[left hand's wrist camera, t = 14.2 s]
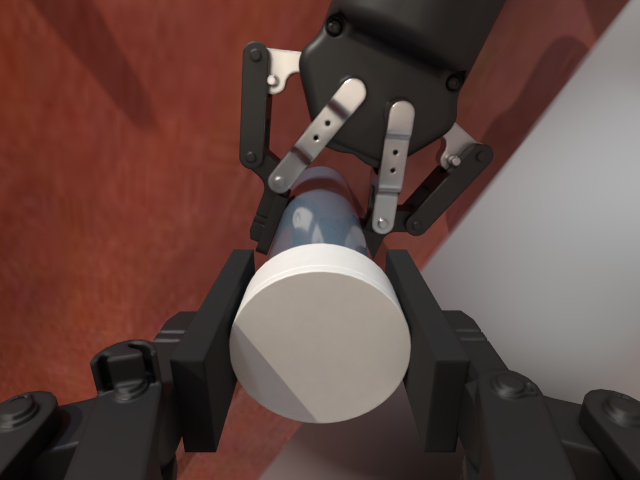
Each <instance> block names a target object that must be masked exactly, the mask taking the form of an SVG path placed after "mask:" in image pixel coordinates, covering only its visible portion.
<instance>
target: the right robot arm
mask: <svg viewBox="0 0 640 480" xmlns="http://www.w3.org/2000/svg"><path fill="white" fill-rule="evenodd" d="M505 1H506V0H332V1H331V4H330V7H329V9H328V12H327V15H326V17H325V20H324V23H323V25H322V28H321V30H320V31H319V33H318V34H317V35H316V37H315V38H314V39H313V40H312V41H311V42H310V43H308V44H307V45H306V46H305V48H304V49H303V50H302V52H296V51H287V50H279V49H271V48H267V47H266V46H265V45H264V44H262V43H261V42H258V41H252V42H250V43H248V44H247V45H246V46H245V48H244V51H243V69H242V97H241V125H240V153H239V158H240V162H241V163H242V165H243V166H244V167H246V168H248V169H251V170H252V171H254V172H255V173H256V174H257V175H258V176H259V177H260V178H261V179H262V180H263V182H264V187H265V189H264V193H263V196H262V199H261V201H260V204H259V207H258V210H257V212H256V215H255V218H254V221H253V223H252V226H251V229H250V239H252V240H255V241H257V242H259V243H258V245H257V248H256V252H259V253H262V254H264V255H267V253H268V251H269V248H270V246H271V243H272V240H273V238H274V235H275V233H276V230H277V228H278V225H279V223H280V220H281V217H282V214H283V212H284V210H285V207H286V205H287V202H288V200H289V197H290V194H291V190H290V189H289V188H290V187H291V186H292V184H293V183H294V182H295V181H296V180H297V178H298V177H299V176H300V175H301V174H302V172H303V171H304V170H305V169H306V167H307V166H308V165H309V164H310V163H311V162H312V161H313V160H314V159H315V158H316V157H317V155H318V154H319V153H320V152H321V151H322V149H323V148H324V147H328V148H330V149H332V150H335V151H337V152H344V153H351V154H354V155H355V156H357V157H358V158H359V159H360V160H362V161H363V162H364V163H366V164H368V165H370V166H371V173H370V190H369V198H368V206H367V213H366V215H365V217H364V219H362V218H359V220H360V223H361V226H362V229H363V232H364V235H365V238H366V241H367V244H368V247H369V250H370V253H371V256H372V259H373V258H374V256H375V254H376V252H377V250H378V248H379V246H380V244H381V242H382V240H383V238H384V237H385V236H386V235H387V234H389V233H391V232H408V233H409V234H411V235H413V236H419V235H422V234H423V233H424V232H426V230H427V229H428V228H429V227H430V226H431V225H432V224H433V223H434V222H435V221H436V220H437V219H438V218H439V217H440V216H441V215H442V213H443V212H444V211H445V210H446V209H447V208H448V207H449V206H450V205H451V204H452V203H453V202H454V201H455V200H456V199H457V198H458V196H459V195H460V194H461V193H462V192H463V191H464V190H465V189H466V188H467V187H468V186H469V185H470V184H471V183H472V182H473V181H474V179H475V178H476V177H477V176H478V175H479V174H480V173H481V172H482V171H483V170H484V169H485V168H486V167H487V166H488V165H489V163H490V162H491V161H492V158H493V151H492V149H491V148H490V147H489V146H487V145H484V144H482V143H479V142H476V141H475V140H474V139H473V138H472V137H471V136H469V135H468V134H467V133H466V132H465V131H464V130H463V129H462V128H461V127H460V126H459V125H457V124H456V123H455V121H456V117H457V100H458V95H459V92H460V90H461V88H462V86H463V84H464V82H465V81H466V79H467V77H468V75H469V73H470V71H471V69H472V67H473V65H474V63H475V61H476V59H477V57H478V55H479V53H480V51H481V49H482V47H483V45H484V43H485V41H486V39H487V37H488V35H489V33H490V31H491V29H492V27H493V25H494V23H495V21H496V19H497V17H498V15H499V13H500V11H501V9H502V7H503V5H504V3H505ZM297 73H300V77H301V81H302V85H303V89H304V93H305V98H306V102H307V106H308V110H309V114H310V119H311V123H310V124H309V126H308V127H307V128H306V129H305V131H304V132H303V133H302V134H301V136H300V137H299V138H298V139H297V141H296V142H295V143H294V145H293V146H292V147H291V148H290V150H289V151H288V152H287V153H286V155H285V156H284V157H283V158H282V160H280V159H279V158H278V157H277V156H276V155H275V154H274V153H273V152H272V151H270V150H269V141H270V125H271V109H272V94H280V93H282V92H283V91H284V90H285V88H286V85H287V81H288V79H289V78H290V77H291V76H292V75H294V74H297ZM439 138H440V139H441V147H440V149H439V151H438V152H437V154H436V162H437V164H438V166H437V167H436V168H435V169H434V170H433V171H432V172H431V174H430V175H429V176H428V177H427V178H426V179H425V180H424V181H423V182H422V184H421V185H420V186H419V187H418V188H417V189H416V190H415V191H414V193H413V194H412V195H411V196H410V197H409V198H408V199H407V200H406V201H405V203H404V204H403V205H397V201H398V196H399V194H400V192H401V189H402V184H403V177H404V171H405V165H406V158H407V157H409V156H410V155H412V154H414V153H415V152H417V151H419V150H420V149H422V148H424V147H425V146H427V145H429V144H430V143H432V142H434V141H436V140H437V139H439Z"/></svg>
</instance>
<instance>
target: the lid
mask: <svg viewBox="0 0 640 480" xmlns="http://www.w3.org/2000/svg"><path fill="white" fill-rule="evenodd" d="M229 349H230V359H231V364H232V368H233V370H234V373H235V375H236V377H237V379H238V381H239V382H240V384H241V385H242V387H243V388H244V389H245V391H246V392H247V393H248V394H249V395H250V396H251V397H252V398H253V399H254V400H255V401H256V402H258V403H259V404H260V405H262V406H263V407H265V408H266V409H268V410H270V411H272V412H274V413H276V414H278V415H280V416H283V417H286V418H289V419H292V420H296V421H301V422H308V423H332V422H339V421H344V420H348V419H352V418H355V417H358V416H360V415H362V414H364V413H367V412H369V411H370V410H372V409H374V408H375V407H377V406H379V405H380V404H381V403H382V402H384V401H385V400H386V399H387V398H388V397H389V396H390V395H391V394H392V393H393V392H394V391H395V390H396V388H397V387H398V386H399V385H400V383H401V381H402V379H403V378H404V376H405V373H406V371H407V368H408V366H409V361H410V351H411V336H410V331H409V327H408V324H407V322H406V319H405V317H404V314H403V312H402V309H401V306H400V304H399V301H398V299H397V296H396V294H395V291H394V289H393V286H392V284H391V282H390V281H389V279H388V277H387V276H386V275H385V273H384V272H383V271H382V270H381V268H380V267H378V266H377V265H376V264H375V263H374V262H373V261H372V260H370V259H369V258H367V257H366V256H364V255H362V254H361V253H359V252H357V251H355V250H352V249H349V248H346V247H343V246H338V245H333V244H308V245H301V246H298V247H294V248H291V249H288V250H286V251H284V252H281V253H280V254H278V255H276V256H274V257H273V258H271V259H270V260H269V261H267V262H266V263H265V264H264V265H263V266H262V267H261V268H260V269H259V270H258V271H257V272H256V274H255V275H254V276H253V278H252V279H251V281H250V283H249V285H248V287H247V289H246V292H245V294H244V297H243V300H242V302H241V305H240V307H239V310H238V312H237V315H236V317H235V320H234V323H233V326H232V328H231V333H230V338H229Z"/></svg>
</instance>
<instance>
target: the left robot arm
mask: <svg viewBox="0 0 640 480" xmlns="http://www.w3.org/2000/svg"><path fill="white" fill-rule="evenodd" d="M254 275H255V265H254V250H233V252H232V254H231V255H230V257H229V259H228V260H227V262H226V264H225V266H224V267H223V269H222V271H221V273H220V274H219V276H218V278H217V279H216V281H215V283H214V285H213V286H212V288H211V290H210V292H209V293H208V295H207V297H206V298H205V300H204V302H203V304H202V305H201V307H200V309H199V310H198V312H179V313H177V314H176V315H174V316H173V317H172V318H170V319H169V320H167V321H166V323H165V324H164V326H163V327H162V329H161V330H160V333H158V334H157V336H156V337H155V339H154V340H153V342H150V341H146V340H142V339H141V340H128V341H123V342H119V343H116V344H114V345H112V346H109V347H107V348H105V349H104V350H102V351H101V352H99V353H98V354H96V355H95V357H94V358H93V359H92V360H91V362H90V366H91V370H92V374H93V377H94V381H95V385H96V389H97V393H98V394H97V397H95V398H92V399H89V400H85V401H80V402H76V403H71V404H67V405H62V406H58V402H57V399H56V397H55V396H54V395H53V394H52V393H50V392H45V391H34V392H27V393H24V394H20V395H18V396H15V397H12V398H10V399H8V400H6V401H4V402H3V403H1V404H0V480H176V478H177V468H178V467H177V460H176V455H175V452H176V450H177V447H178V445H179V442H180V440H181V437H183V443H184V449H185V452H216V450H217V447H218V443H219V440H220V437H221V433H222V430H223V427H224V423H225V420H226V416H227V413H228V410H229V406H230V403H231V400H232V396H233V393H234V389H235V386H236V383H237V377H236V375H235V373H234V370H233V368H232V364H231V359H230V349H229V338H230V333H231V328H232V326H233V323H234V320H235V317H236V315H237V312H238V310H239V307H240V305H241V302H242V300H243V297H244V294H245V292H246V289H247V287H248V285H249V283H250V281H251V279H252V278H253V276H254ZM385 275H386V276H387V277H388V279H389V281H390V282H391V284H392V286H393V289H394V291H395V294H396V296H397V299H398V301H399V304H400V306H401V309H402V312H403V314H404V317H405V319H406V322H407V324H408V327H409V331H410V336H411V351H410V361H409V366H408V368H407V371H406V373H405V376H404V378H403V382H404V385H405V389H406V392H407V395H408V399H409V402H410V405H411V409H412V412H413V416H414V419H415V422H416V426H417V429H418V433H419V436H420V439H421V443H422V446H423V449H424V452H455V451H456V444H457V439H458V435H459V437H460V440H461V442H462V445H463V447H464V450H465V455H464V460H463V466H462V471H461V477H460V480H640V402H639V401H637V400H636V399H634V398H632V397H630V396H627V395H625V394H621V393H619V392H615V391H610V390H603V389H599V390H592V391H590V392H588V393H587V394H586V395H585V397H584V400H583V403H582V405H581V404H576V403H572V402H567V401H562V400H558V399H554V398H550V397H547V396H543V394H542V392H541V391H540V389H539V388H538V386H537V385H536V384H535V383H533V382H532V381H531V380H530V379H529V378H527V377H525V376H523V375H521V374H519V373H517V372H514V371H511V370H509V369H508V368H507V367H506V365H505V364H504V362H503V361H502V359H501V358H500V357H499V355H498V354H497V352H496V351H495V349H494V348H493V347H492V345H491V344H490V342H489V341H487V338H486V337H485V335H484V334H483V332H481V330H480V328H479V327H478V325H477V324H476V322H475V321H474V320H473V319H472V318H471V317H469V316H468V315H466V314H465V313H463V312H462V311H442V310H441V308H440V307H439V305H438V303H437V301H436V300H435V298H434V296H433V295H432V293H431V291H430V289H429V288H428V286H427V284H426V283H425V281H424V279H423V277H422V276H421V274H420V272H419V270H418V269H417V267H416V265H415V264H414V262H413V260H412V258H411V257H410V255H409V253H408V251H407V250H387V253H386V268H385Z"/></svg>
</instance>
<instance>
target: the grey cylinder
mask: <svg viewBox="0 0 640 480" xmlns="http://www.w3.org/2000/svg"><path fill="white" fill-rule="evenodd" d="M308 244H333V245H338V246H343V247H346V248H349V249H352V250H355V251H357V252H359V253H361V254H362V255H364V256H366V257H367V258H369V259H370V260H372V261H373V259H372V256H371V253H370V250H369V247H368V244H367V241H366V238H365V235H364V232H363V229H362V226H361V223H360V220H359V217H358V214H357V211H356V208H355V205H354V202H353V199H352V196H351V193H350V190H349V187H348V184H347V182H346V181H345V179H344V178H343V176H342V175H341V174H340V173H338V172H337V171H335V170H333V169H331V168H328V167H322V166H319V167H312V168H309V169H307V170H305V171H303V172H302V174H301V175H300V176H299V177H298V178H297V180H296V181H295V182H294V183H293V184H292V187H291V194H290V197H289V200H288V202H287V205H286V207H285V210H284V212H283V214H282V217H281V220H280V223H279V226H278V229H277V232H276V235H275V238H274V241H273V244H272V247H271V250H270V254H269V257H268V260H267V261H269V260H270V259H271V258H273V257H274V256H276V255H278V254H280V253H281V252H284V251H286V250H288V249H291V248H294V247H298V246H301V245H308Z"/></svg>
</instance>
